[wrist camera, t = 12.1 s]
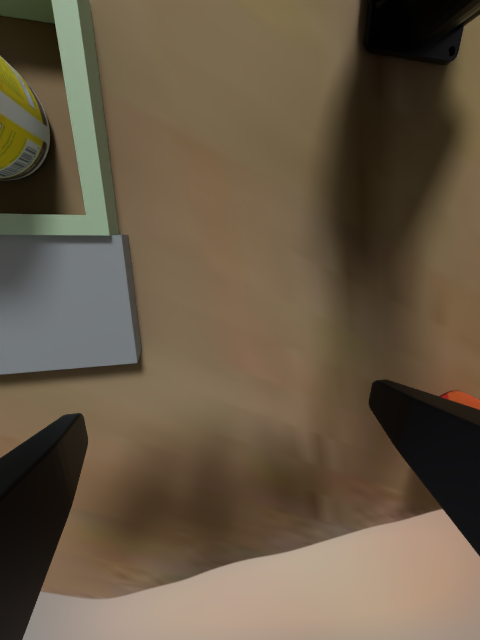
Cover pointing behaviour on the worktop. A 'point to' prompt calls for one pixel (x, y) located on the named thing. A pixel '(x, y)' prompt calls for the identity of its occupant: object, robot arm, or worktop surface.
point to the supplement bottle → (20, 126)
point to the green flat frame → (69, 235)
